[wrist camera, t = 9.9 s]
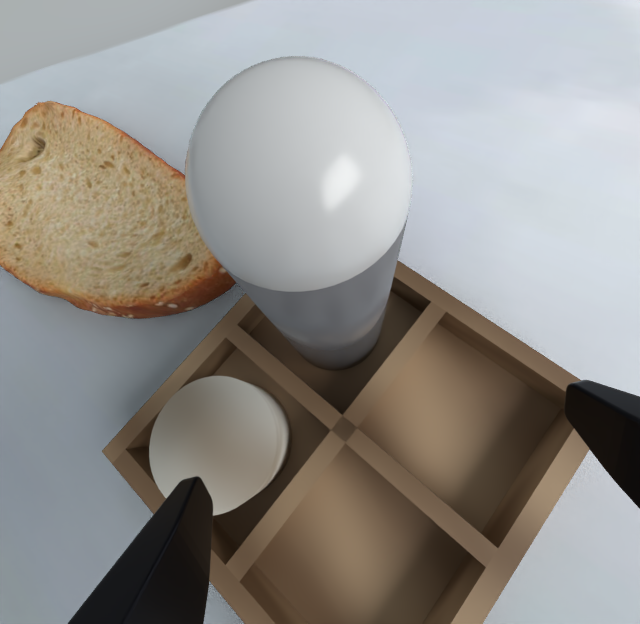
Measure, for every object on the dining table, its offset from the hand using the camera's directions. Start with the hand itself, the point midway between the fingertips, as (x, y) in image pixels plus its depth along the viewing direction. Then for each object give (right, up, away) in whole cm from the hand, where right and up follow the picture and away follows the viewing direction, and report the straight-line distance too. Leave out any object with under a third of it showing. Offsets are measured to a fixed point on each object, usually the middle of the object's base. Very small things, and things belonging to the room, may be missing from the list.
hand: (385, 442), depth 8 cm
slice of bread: (-16, +10, +15) cm, 24 cm away
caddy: (0, -3, +9) cm, 9 cm away
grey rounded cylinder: (-1, +2, +10) cm, 10 cm away
